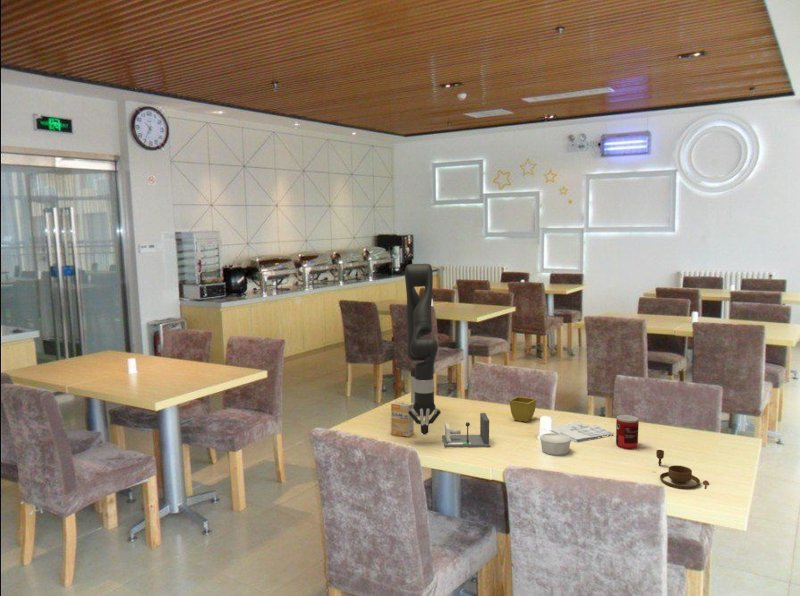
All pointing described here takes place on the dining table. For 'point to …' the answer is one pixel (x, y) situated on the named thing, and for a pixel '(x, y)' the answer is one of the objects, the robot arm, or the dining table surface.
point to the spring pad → (450, 432)
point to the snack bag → (580, 431)
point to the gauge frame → (471, 436)
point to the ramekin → (555, 443)
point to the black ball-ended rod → (467, 431)
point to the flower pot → (522, 408)
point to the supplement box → (401, 419)
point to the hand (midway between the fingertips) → (424, 433)
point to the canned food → (627, 431)
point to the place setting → (678, 475)
